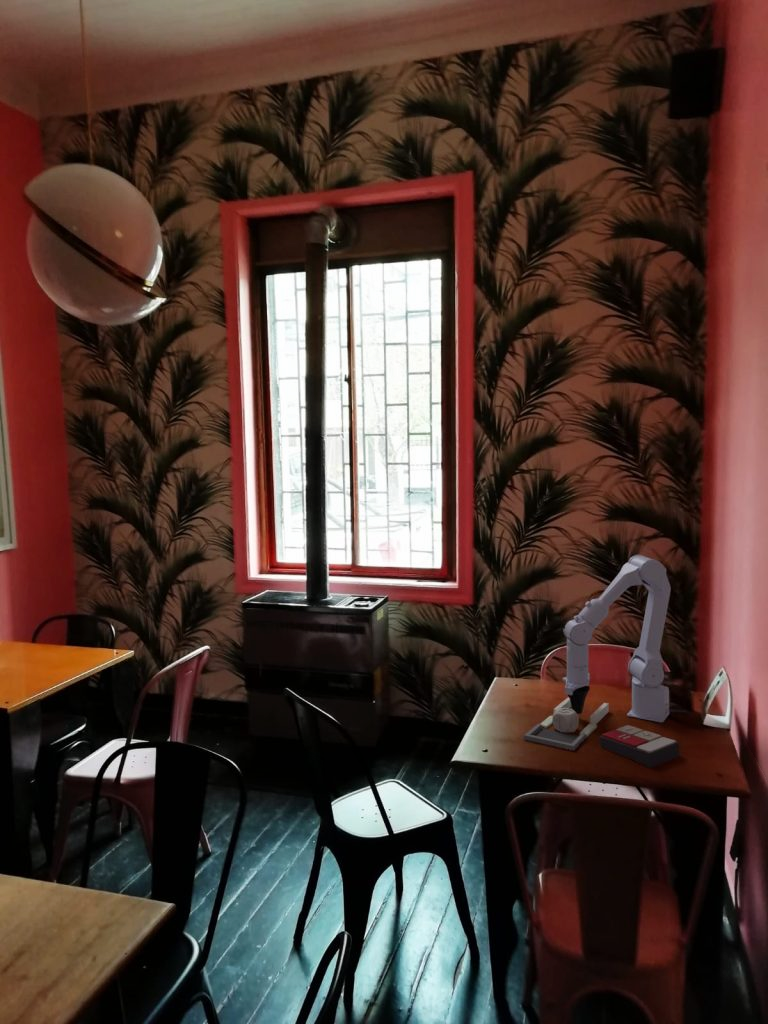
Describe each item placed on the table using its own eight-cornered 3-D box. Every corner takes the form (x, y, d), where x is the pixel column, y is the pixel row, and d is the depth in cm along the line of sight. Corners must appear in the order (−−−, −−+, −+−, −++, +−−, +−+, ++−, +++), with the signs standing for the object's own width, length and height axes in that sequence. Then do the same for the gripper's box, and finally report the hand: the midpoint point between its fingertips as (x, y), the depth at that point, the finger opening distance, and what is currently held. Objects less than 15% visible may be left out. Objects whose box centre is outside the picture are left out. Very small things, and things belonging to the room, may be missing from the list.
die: (552, 729, 188) (551, 711, 188) (562, 724, 192) (562, 706, 191) (568, 734, 185) (568, 716, 184) (579, 729, 188) (579, 711, 188)
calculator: (627, 723, 183) (679, 739, 170) (628, 739, 183) (680, 756, 170) (598, 733, 177) (650, 750, 164) (599, 750, 177) (650, 768, 165)
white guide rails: (608, 711, 200) (608, 703, 199) (594, 725, 190) (594, 717, 190) (569, 704, 206) (569, 696, 206) (553, 717, 196) (553, 709, 196)
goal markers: (596, 727, 189) (596, 724, 189) (587, 736, 183) (587, 734, 183) (550, 717, 196) (550, 715, 196) (539, 726, 190) (539, 724, 190)
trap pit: (586, 738, 182) (586, 733, 182) (573, 750, 175) (573, 746, 175) (538, 727, 189) (538, 723, 189) (524, 739, 182) (524, 735, 182)
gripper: (572, 655, 202) (572, 701, 204) (553, 669, 191) (553, 718, 192) (597, 659, 198) (597, 706, 200) (579, 673, 187) (579, 723, 188)
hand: (577, 712), depth 195 cm, fingers closed
